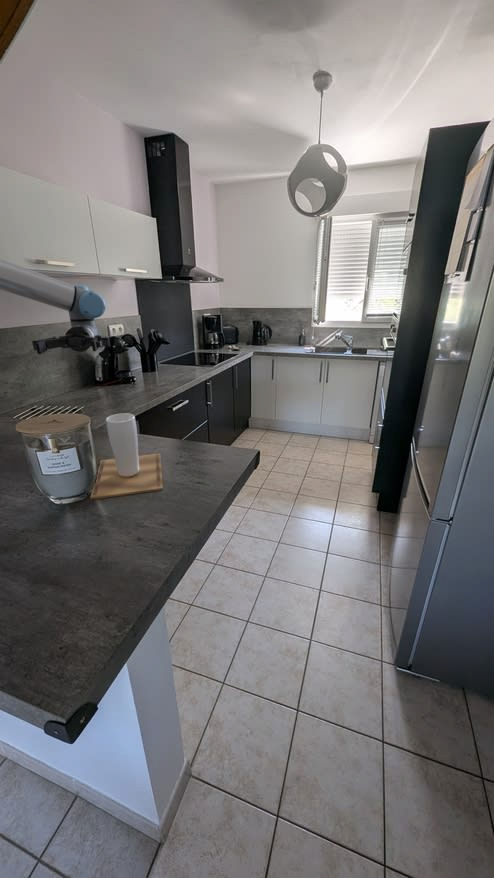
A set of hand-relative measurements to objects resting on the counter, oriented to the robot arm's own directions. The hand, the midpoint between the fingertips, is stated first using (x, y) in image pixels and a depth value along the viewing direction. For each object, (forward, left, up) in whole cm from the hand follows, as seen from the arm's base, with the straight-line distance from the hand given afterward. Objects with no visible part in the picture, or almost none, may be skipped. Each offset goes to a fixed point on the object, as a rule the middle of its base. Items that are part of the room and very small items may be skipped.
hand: (66, 347), depth 94 cm
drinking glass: (+20, +13, -30) cm, 38 cm away
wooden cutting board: (+20, +13, -30) cm, 38 cm away
